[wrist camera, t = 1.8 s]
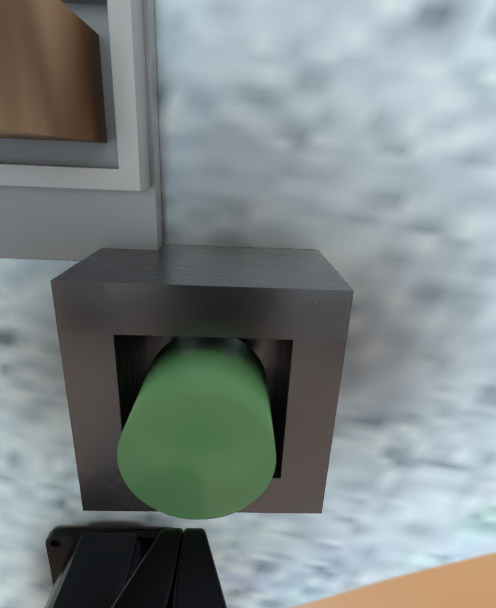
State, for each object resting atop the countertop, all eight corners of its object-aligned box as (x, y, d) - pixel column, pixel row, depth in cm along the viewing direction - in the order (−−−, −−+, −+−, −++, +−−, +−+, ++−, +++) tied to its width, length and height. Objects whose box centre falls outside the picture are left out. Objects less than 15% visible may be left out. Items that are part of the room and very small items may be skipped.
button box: (299, 420, 18) (321, 513, 13) (124, 416, 18) (83, 510, 13) (318, 249, 15) (353, 290, 10) (110, 242, 15) (51, 280, 10)
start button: (263, 434, 14) (271, 520, 11) (150, 432, 14) (122, 519, 10) (270, 332, 12) (281, 395, 9) (145, 329, 12) (110, 390, 9)
